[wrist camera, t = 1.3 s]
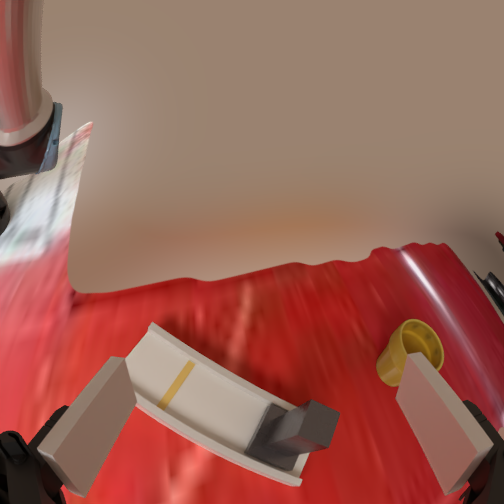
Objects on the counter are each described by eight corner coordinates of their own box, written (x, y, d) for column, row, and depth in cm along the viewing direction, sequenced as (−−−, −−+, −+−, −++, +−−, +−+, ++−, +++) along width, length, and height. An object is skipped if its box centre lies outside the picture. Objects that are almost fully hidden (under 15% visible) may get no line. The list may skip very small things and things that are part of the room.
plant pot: (368, 396, 40) (407, 371, 34) (362, 344, 48) (395, 313, 41) (411, 397, 41) (450, 373, 35) (403, 350, 49) (436, 322, 43)
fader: (243, 452, 28) (278, 443, 21) (267, 406, 33) (305, 381, 26) (287, 471, 27) (334, 465, 20) (306, 425, 32) (353, 404, 25)
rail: (108, 386, 30) (105, 378, 28) (152, 333, 37) (152, 321, 35) (288, 486, 27) (299, 486, 25) (314, 424, 35) (325, 420, 33)
